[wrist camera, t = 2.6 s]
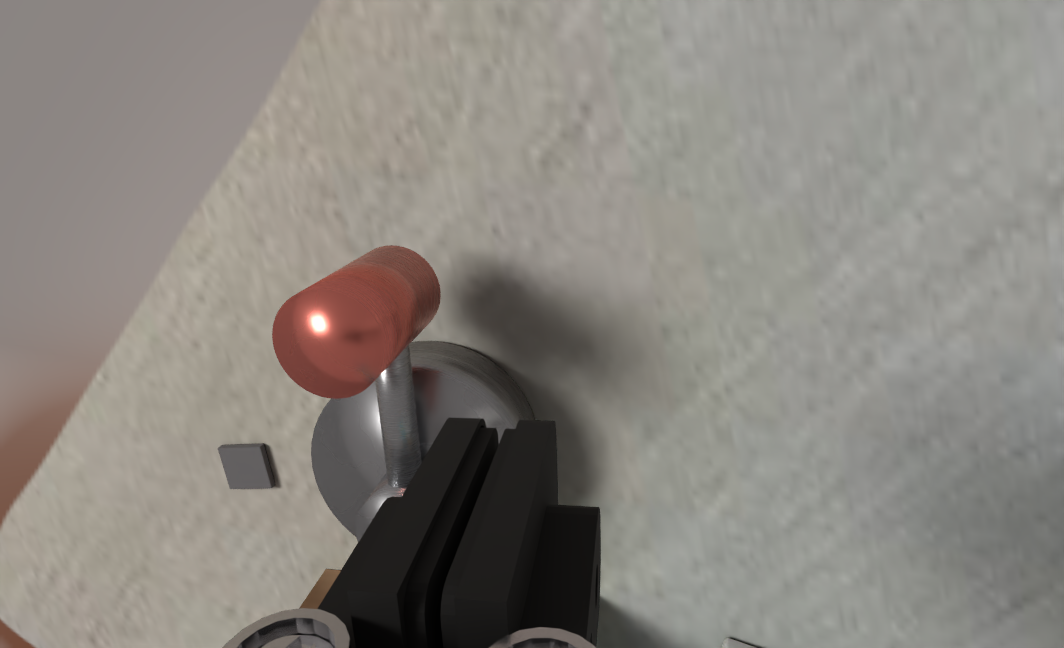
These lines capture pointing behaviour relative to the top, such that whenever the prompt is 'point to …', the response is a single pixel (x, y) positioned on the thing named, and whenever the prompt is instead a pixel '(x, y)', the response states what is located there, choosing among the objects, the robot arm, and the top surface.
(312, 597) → the brown rectangular block
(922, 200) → the top surface
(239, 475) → the dark grey square block
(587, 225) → the top surface
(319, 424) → the red knob control stick
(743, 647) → the supplement box
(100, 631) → the top surface
